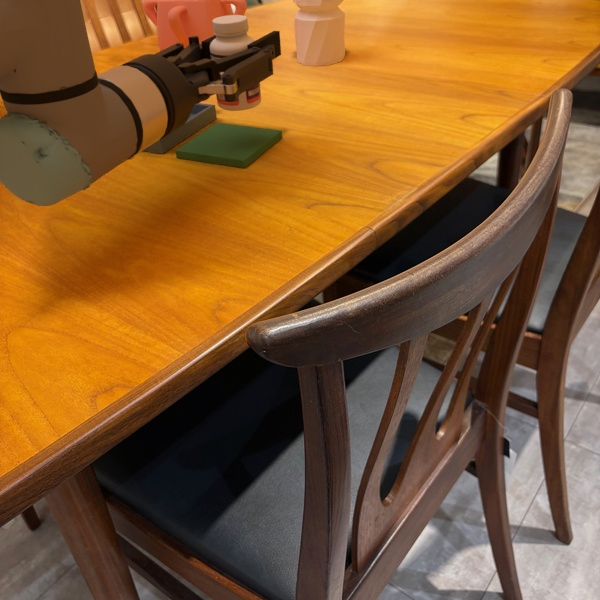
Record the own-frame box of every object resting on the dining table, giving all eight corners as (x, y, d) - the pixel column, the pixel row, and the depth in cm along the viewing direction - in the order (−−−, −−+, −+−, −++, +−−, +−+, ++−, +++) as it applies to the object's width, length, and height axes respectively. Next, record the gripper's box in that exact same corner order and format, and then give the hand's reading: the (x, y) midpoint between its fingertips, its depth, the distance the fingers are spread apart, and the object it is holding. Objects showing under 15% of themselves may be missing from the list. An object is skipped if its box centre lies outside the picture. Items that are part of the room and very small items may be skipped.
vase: (298, 67, 106) (294, -9, 98) (294, 54, 113) (290, -19, 105) (349, 63, 106) (348, -14, 99) (341, 50, 113) (340, -23, 106)
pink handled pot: (182, 80, 104) (168, -5, 96) (145, 61, 114) (129, -17, 107) (265, 59, 111) (258, -21, 103) (223, 44, 122) (214, -31, 114)
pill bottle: (255, 94, 77) (247, 11, 72) (266, 107, 73) (259, 20, 67) (213, 100, 76) (201, 16, 70) (222, 114, 72) (211, 26, 66)
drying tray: (84, 142, 84) (80, 127, 82) (143, 109, 93) (140, 96, 92) (162, 154, 79) (159, 139, 77) (217, 118, 88) (215, 104, 87)
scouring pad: (176, 157, 77) (175, 150, 77) (218, 129, 84) (217, 122, 84) (245, 168, 74) (244, 160, 73) (282, 137, 81) (281, 130, 80)
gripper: (75, 131, 64) (197, 66, 81) (226, 154, 57) (325, 78, 74) (54, 56, 60) (187, 4, 76) (215, 72, 53) (323, 11, 69)
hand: (255, 41), depth 75 cm, fingers closed on pill bottle, 5 cm apart
